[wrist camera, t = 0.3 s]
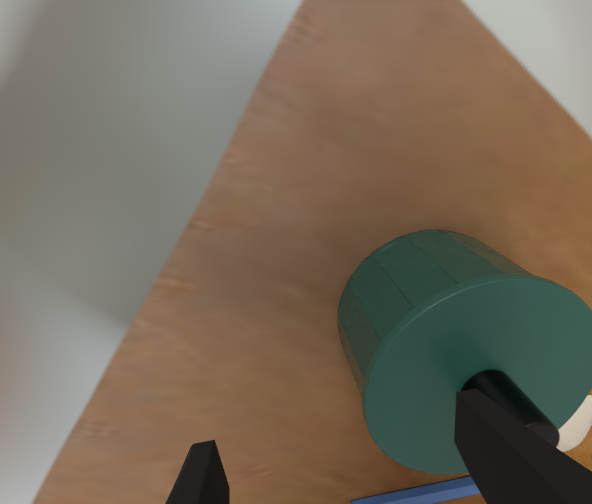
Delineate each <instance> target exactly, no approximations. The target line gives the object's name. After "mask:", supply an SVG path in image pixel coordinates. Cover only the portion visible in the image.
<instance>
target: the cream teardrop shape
mask: <svg viewBox="0 0 592 504" xmlns="http://www.w3.org/2000/svg"><path fill="white" fill-rule="evenodd" d="M591 424H592V395H590V394H588V395H587V397H586V398H585V400H584V402H583V403H582V404H581V406H580V407H579V408H578V410H577V411H576V412H575V414H574V415H573V416H572V417H571V418H570V419H569V420H568V421H567V422H566V423H565V424H564V425H563V426H562V427H561V428H560V429H559V430H558V431H559V434H560V440H559V443H558V446H557V447H556V448H557V449H559V450H560V451H562V452H564V451H568V450H570V449H572V448H574V447H576V446H577V445H578V444H579V443H580V442H581V441H582V440H583V439H584V438H585V437H586V435H587V433H588V431H589V429H590V427H591Z"/></svg>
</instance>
